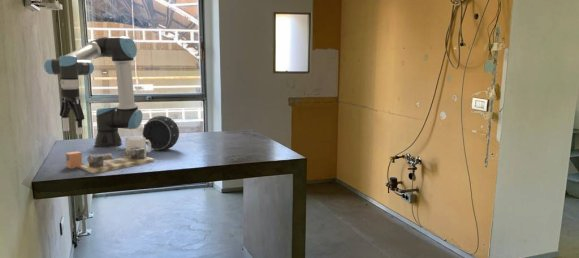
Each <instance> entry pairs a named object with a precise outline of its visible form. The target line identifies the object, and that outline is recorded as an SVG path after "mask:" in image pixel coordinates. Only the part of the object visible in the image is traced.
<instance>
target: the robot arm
mask: <svg viewBox="0 0 579 258" xmlns="http://www.w3.org/2000/svg"><path fill="white" fill-rule="evenodd" d="M137 50H138V49H137V45H136V43H135V41H134V40H133V38H131V37H128V36H102V37H98V38H95V39H93V40H91V41H88V42H86V44H85V45H84V46H82V47H80V48H78V49H76V50H73V51H71V52H69V53H68V54H65V55H60V56H59V57H58V58H55V59H54V58H52V59H49V58H48V59H46V60H45V61H44V71H45V72H46V73H47V74H48V75H54V76H56V75H57V76H58V75H59V76H60V82H59V83H60V87H61V93H60V94H61V104H60V105H61V106H60V110H59V116H61V118H62V119H61V120H62V131H63V132H68V131H70V120H69V119H70V118H69V117H70V116H69V114H70V111H72V113H73V115H74V117H75V119H74V121H75V134H76V135H83V134H84V133H83V131H84V130H83V121H84V120H85V115H84V111H83V108H82V104H81V99H77V97H80V89H79V86H80V82H79V76H89V75H91V74H93V72H94V69H95V65H94V63H93V62H92V61H91V60H92V59H99V58H111V62H112V63H114V65H115V75H116V77H115V78H116V85H117V95H118V103H119V104H118V105H117V106H106V107H100V108H97V109H96V114H95V115H96V116H95V117H96V128H97V129H96V131H97V132H96V137H95V139H94V146H95V147H97V148H98V147H99V148H111V147H112V148H113V147H117V146H122V144H123V143H122V138H121V135H120V133H119V129H129V130H136V129H138V128H140V126H141V124H142V121H143V112H142V110H141V109H139V108H138V105H137V104H136V101H135V94H134V93H135V91H134V83H133V73H132V72H133V71H132V62H133V61H134V59H135V57H136V56H137V53H138V51H137Z"/></svg>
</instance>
